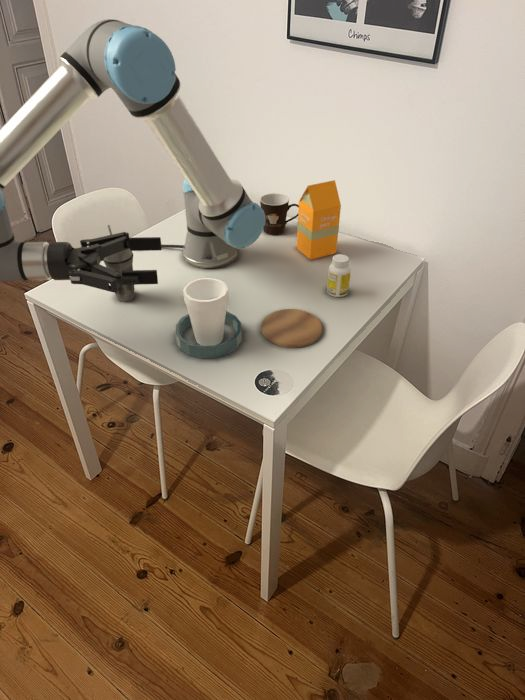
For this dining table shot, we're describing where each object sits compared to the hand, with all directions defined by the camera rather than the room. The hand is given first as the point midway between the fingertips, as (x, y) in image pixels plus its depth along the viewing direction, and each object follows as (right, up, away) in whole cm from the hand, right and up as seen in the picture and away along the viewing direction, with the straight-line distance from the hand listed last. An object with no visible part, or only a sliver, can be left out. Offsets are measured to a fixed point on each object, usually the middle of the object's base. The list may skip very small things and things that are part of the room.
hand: (159, 259), depth 107 cm
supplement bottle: (+40, -4, +28) cm, 49 cm away
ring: (+9, -16, +13) cm, 22 cm away
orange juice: (+36, +10, +45) cm, 59 cm away
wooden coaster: (+28, -13, +16) cm, 35 cm away
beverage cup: (-14, -5, +26) cm, 30 cm away
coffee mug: (+26, +18, +54) cm, 63 cm away
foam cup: (+9, -16, +13) cm, 22 cm away
